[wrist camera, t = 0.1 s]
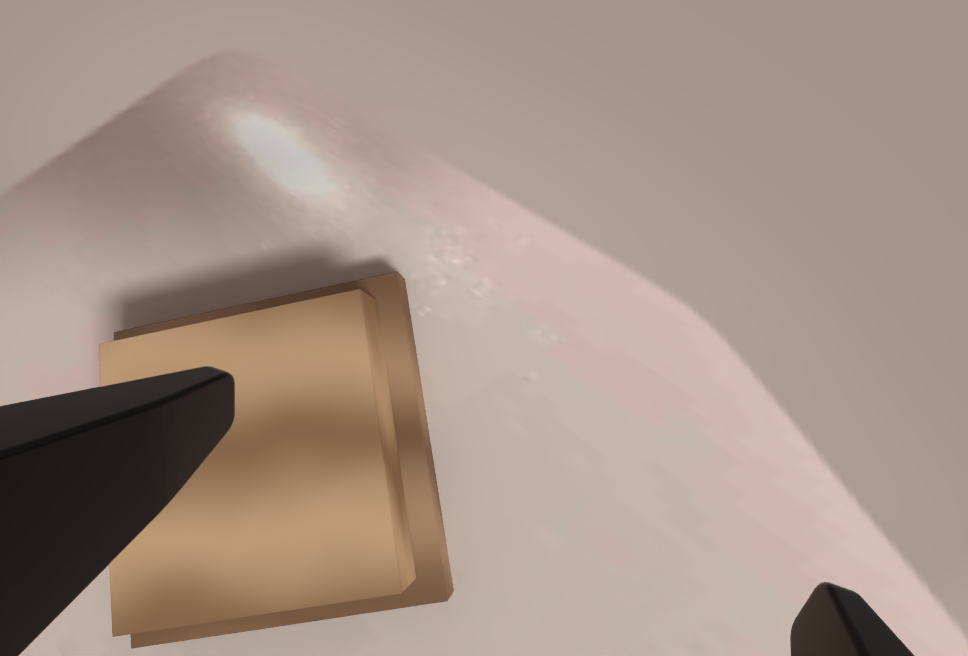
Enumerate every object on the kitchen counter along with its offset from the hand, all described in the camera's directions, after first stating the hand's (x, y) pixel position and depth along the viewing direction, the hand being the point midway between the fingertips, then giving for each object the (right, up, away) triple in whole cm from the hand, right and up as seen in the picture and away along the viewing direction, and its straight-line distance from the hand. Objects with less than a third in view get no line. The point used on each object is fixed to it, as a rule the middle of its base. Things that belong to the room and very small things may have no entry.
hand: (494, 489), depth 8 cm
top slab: (-9, -3, +15) cm, 18 cm away
